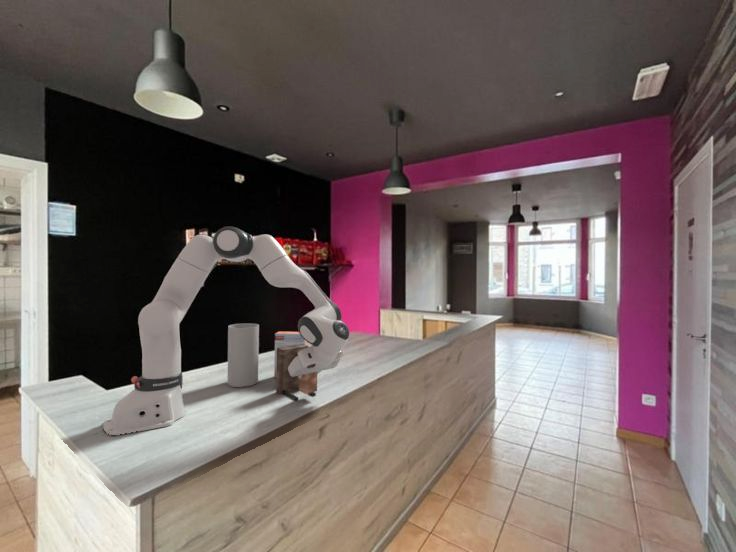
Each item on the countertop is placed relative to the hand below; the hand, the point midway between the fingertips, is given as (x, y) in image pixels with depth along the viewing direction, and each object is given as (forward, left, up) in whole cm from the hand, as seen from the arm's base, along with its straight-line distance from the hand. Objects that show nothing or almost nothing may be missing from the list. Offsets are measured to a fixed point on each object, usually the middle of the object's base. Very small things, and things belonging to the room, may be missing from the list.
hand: (307, 375), depth 132 cm
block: (0, -1, -6) cm, 6 cm away
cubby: (0, +7, -9) cm, 11 cm away
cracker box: (+8, +27, -9) cm, 29 cm away
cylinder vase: (-12, +33, -9) cm, 36 cm away
